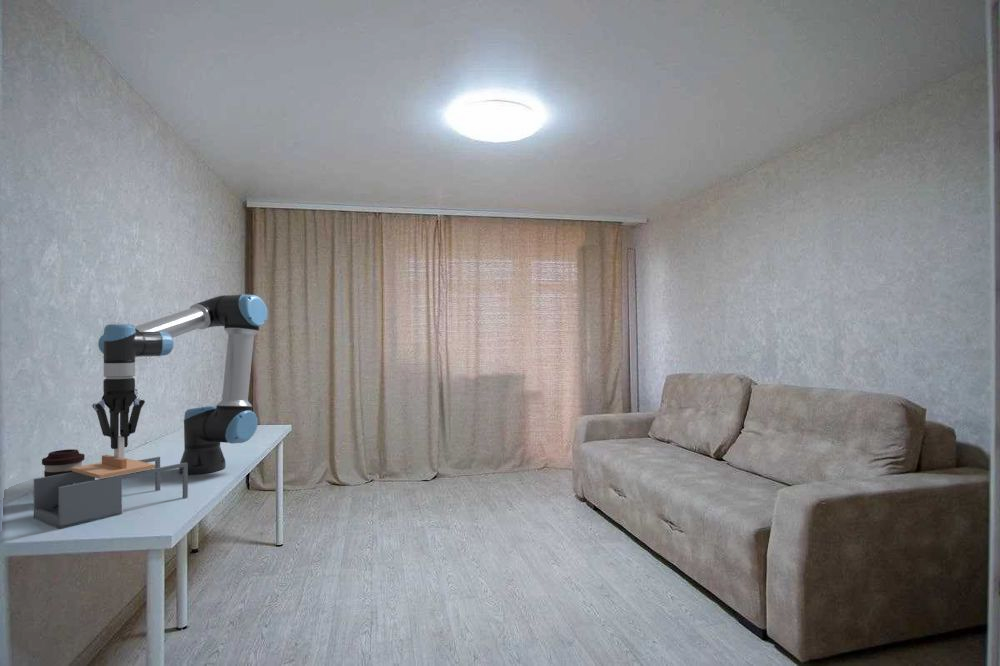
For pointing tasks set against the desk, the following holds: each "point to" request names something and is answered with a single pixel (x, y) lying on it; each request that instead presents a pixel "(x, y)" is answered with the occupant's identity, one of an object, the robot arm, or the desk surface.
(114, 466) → the lid
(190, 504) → the desk surface
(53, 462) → the coffee cup
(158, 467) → the housing
